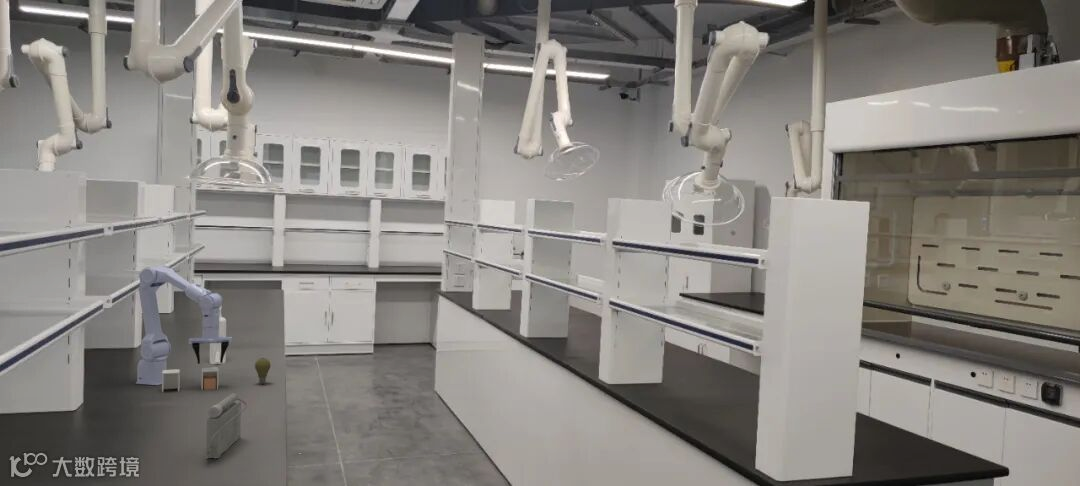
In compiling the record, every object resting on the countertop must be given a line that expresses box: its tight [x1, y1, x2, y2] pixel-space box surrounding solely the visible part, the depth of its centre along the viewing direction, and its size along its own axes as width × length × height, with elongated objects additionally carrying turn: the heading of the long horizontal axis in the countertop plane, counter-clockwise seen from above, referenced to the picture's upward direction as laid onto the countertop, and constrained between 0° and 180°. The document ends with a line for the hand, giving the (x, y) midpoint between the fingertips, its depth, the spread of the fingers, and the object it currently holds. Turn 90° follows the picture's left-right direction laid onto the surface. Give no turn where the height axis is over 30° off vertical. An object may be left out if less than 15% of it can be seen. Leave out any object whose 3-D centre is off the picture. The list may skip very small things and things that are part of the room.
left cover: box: [161, 368, 181, 393], centre depth 274 cm, size 6×6×7 cm
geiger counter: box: [205, 392, 248, 459], centre depth 209 cm, size 14×6×25 cm
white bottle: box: [209, 305, 227, 365], centre depth 323 cm, size 7×12×25 cm, turn 19°
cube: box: [203, 376, 217, 390], centre depth 279 cm, size 4×4×4 cm
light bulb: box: [254, 357, 271, 385], centre depth 288 cm, size 6×6×10 cm
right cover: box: [200, 367, 219, 391], centre depth 279 cm, size 6×6×7 cm
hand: (210, 362), depth 279 cm, fingers open, 7 cm apart
